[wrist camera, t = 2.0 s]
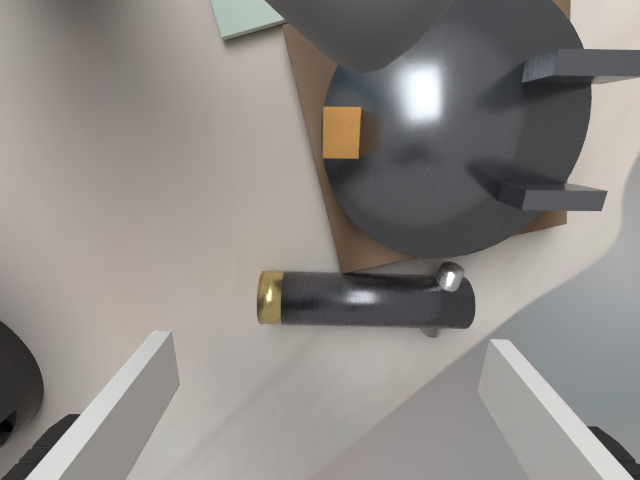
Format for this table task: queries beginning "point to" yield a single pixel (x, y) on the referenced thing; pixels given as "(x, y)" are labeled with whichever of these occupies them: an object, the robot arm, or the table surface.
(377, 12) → the power drill
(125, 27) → the table surface
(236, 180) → the table surface
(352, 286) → the black cylinder
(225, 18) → the mat
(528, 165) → the chuck collar
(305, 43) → the plinth
